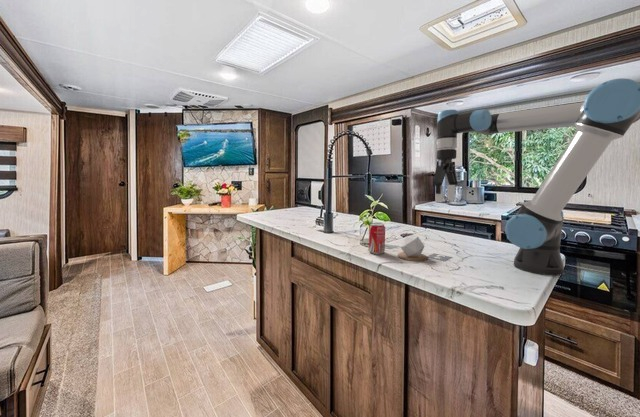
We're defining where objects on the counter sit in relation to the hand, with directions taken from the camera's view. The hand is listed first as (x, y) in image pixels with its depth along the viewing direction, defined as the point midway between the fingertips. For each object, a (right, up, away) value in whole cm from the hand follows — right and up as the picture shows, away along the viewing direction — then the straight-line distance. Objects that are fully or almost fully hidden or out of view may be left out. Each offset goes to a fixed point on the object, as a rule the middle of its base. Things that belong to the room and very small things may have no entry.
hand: (445, 201), depth 124 cm
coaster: (-13, -24, +2) cm, 27 cm away
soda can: (-27, -23, +8) cm, 37 cm away
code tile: (-2, -24, +2) cm, 24 cm away
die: (-13, -23, +2) cm, 27 cm away
